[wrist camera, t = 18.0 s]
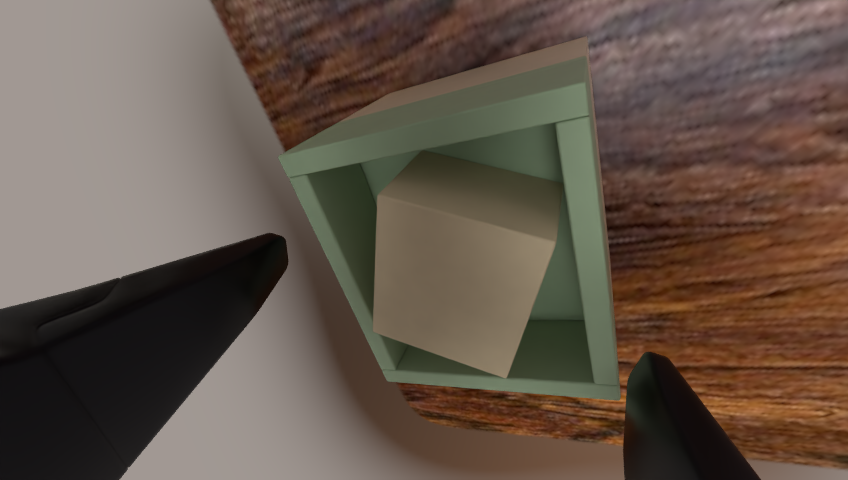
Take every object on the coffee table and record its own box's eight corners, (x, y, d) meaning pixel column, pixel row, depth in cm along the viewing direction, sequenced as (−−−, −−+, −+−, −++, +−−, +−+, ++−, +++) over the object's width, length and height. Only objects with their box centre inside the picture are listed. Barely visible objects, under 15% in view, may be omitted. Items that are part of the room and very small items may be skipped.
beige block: (521, 307, 13) (506, 379, 11) (408, 272, 14) (371, 332, 11) (564, 182, 10) (556, 242, 8) (421, 149, 11) (376, 194, 9)
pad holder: (388, 93, 15) (276, 156, 10) (587, 35, 12) (585, 81, 7) (445, 265, 19) (386, 382, 13) (609, 255, 16) (620, 401, 10)
